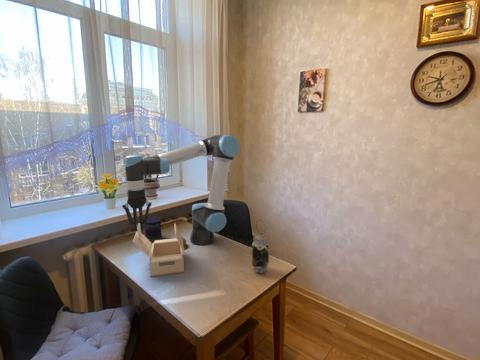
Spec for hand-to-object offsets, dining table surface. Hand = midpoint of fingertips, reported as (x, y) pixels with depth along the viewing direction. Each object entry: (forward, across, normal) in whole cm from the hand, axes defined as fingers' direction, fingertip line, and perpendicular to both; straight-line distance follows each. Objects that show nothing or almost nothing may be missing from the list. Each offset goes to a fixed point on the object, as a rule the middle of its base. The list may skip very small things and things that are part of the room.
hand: (139, 237), depth 119 cm
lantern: (+17, -55, +16) cm, 60 cm away
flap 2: (+7, -20, 0) cm, 21 cm away
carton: (+16, -12, 0) cm, 20 cm away
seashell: (+16, -16, -17) cm, 29 cm away
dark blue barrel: (+17, -4, -31) cm, 35 cm away
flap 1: (+7, -4, 0) cm, 8 cm away
